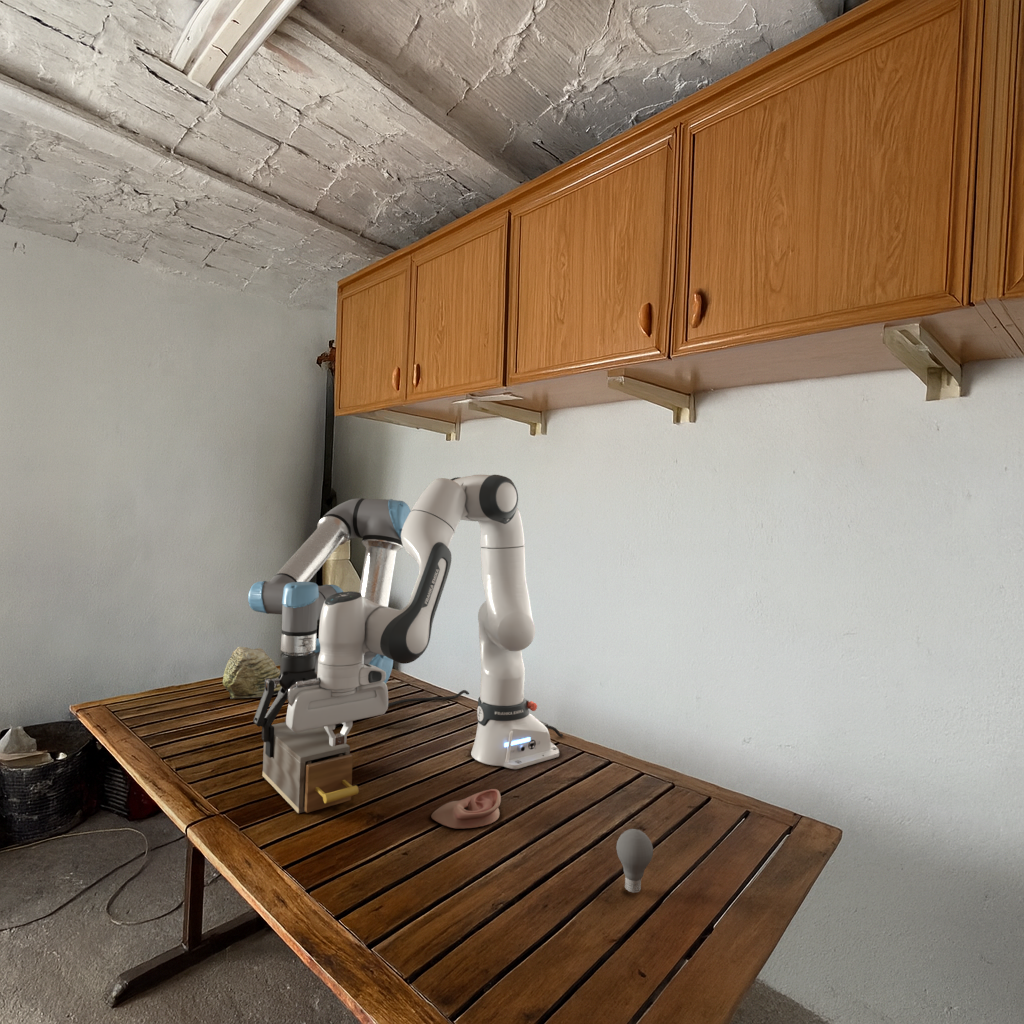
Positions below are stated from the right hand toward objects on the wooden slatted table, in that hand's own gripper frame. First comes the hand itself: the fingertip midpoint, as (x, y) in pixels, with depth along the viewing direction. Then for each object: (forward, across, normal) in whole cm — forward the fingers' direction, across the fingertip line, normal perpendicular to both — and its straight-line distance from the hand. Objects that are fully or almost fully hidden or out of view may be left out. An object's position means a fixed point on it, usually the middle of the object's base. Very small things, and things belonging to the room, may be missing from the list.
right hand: (337, 744), depth 126 cm
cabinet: (+14, 0, +16) cm, 21 cm away
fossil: (+14, +12, +84) cm, 87 cm away
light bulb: (+14, +29, -51) cm, 61 cm away
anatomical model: (+14, +21, -15) cm, 30 cm away
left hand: (+8, 0, +21) cm, 23 cm away
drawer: (+14, 0, +10) cm, 17 cm away
